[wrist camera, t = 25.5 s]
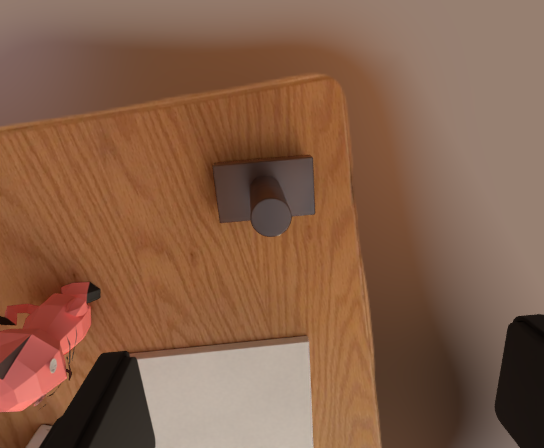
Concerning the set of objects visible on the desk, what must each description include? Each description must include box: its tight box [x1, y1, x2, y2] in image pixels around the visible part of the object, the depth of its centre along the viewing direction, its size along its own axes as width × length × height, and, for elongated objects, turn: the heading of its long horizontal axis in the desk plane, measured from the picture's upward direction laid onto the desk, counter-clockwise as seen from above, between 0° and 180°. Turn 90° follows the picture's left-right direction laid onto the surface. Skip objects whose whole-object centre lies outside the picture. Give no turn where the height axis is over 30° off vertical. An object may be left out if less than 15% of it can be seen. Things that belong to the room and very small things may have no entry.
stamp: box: [213, 155, 315, 237], centre depth 25 cm, size 8×4×10 cm, turn 94°
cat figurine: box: [0, 282, 100, 412], centre depth 26 cm, size 7×7×12 cm
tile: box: [129, 336, 313, 448], centre depth 36 cm, size 18×16×1 cm
